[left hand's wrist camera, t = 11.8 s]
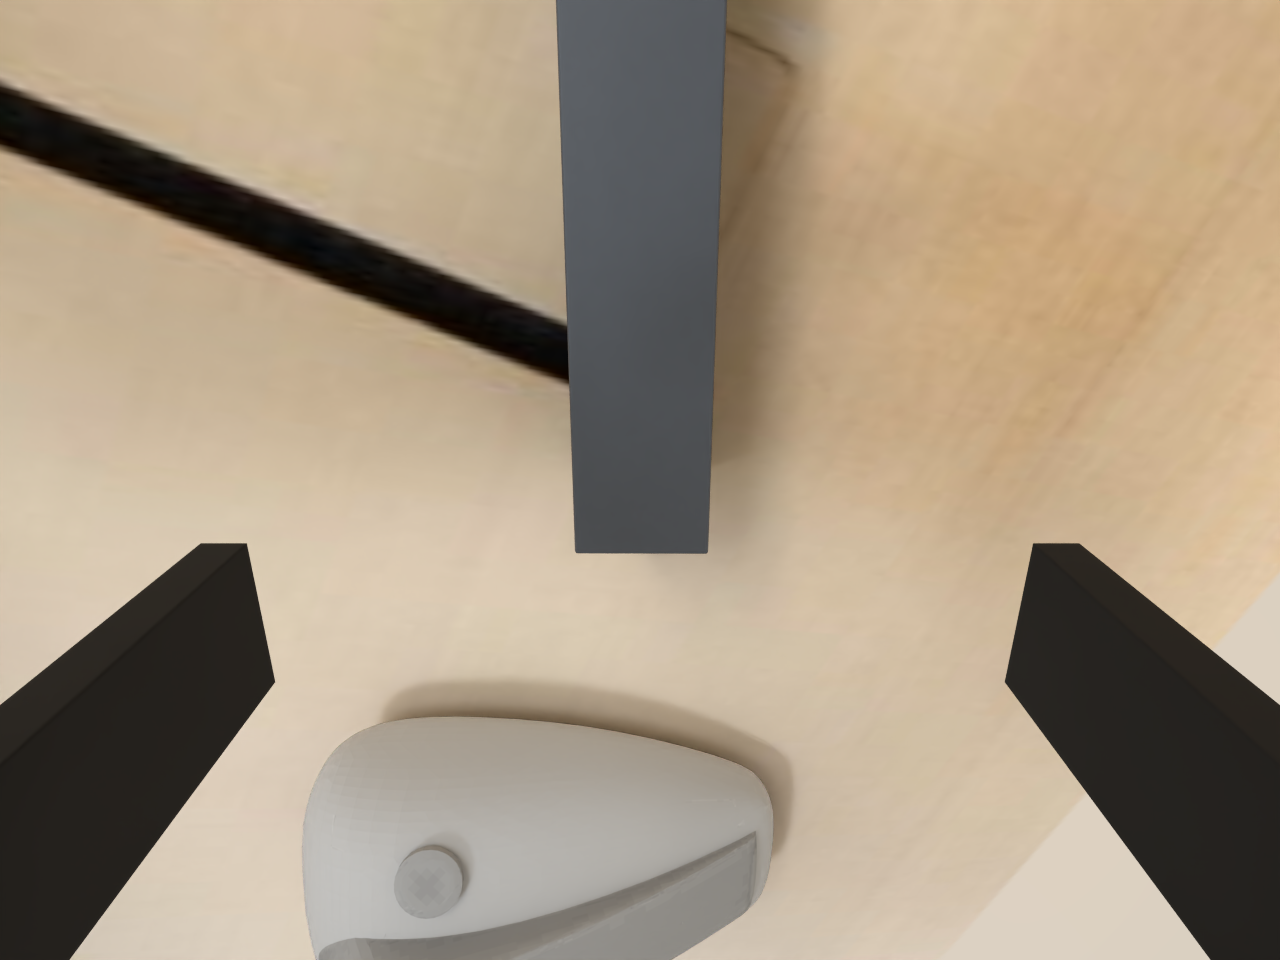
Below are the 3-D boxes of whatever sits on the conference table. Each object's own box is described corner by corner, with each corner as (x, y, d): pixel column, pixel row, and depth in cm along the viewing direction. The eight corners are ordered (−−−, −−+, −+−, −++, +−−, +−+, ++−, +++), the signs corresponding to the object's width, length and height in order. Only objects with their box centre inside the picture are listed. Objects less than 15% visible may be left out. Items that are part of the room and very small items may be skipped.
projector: (560, 1004, 48) (526, 1325, 35) (253, 815, 43) (70, 1106, 29) (816, 806, 42) (897, 1099, 29) (497, 558, 37) (410, 773, 23)
